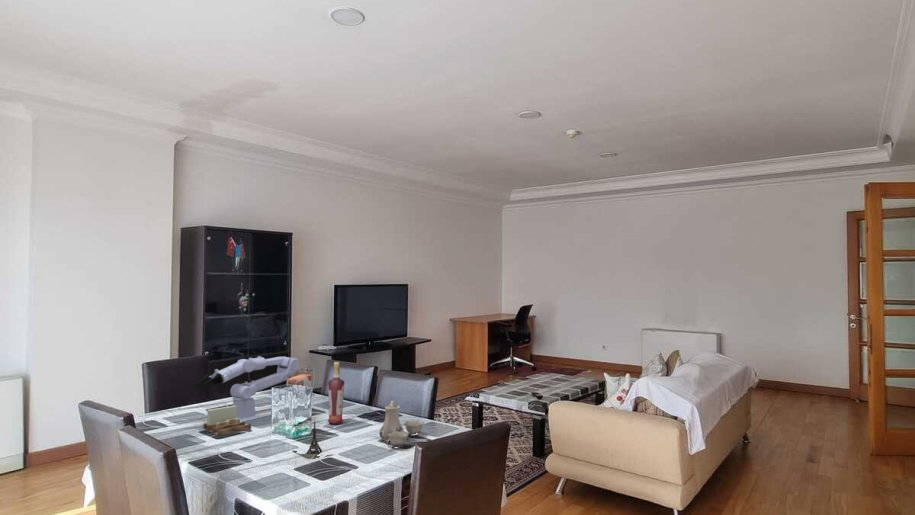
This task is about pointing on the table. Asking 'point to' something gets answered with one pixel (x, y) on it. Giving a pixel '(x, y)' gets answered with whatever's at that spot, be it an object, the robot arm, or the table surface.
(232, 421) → the offcut
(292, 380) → the cracker box
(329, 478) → the table surface
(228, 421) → the offcut
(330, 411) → the liquor
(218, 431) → the rack
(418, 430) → the chinaware
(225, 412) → the pale green slab
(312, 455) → the eiffel tower figurine
